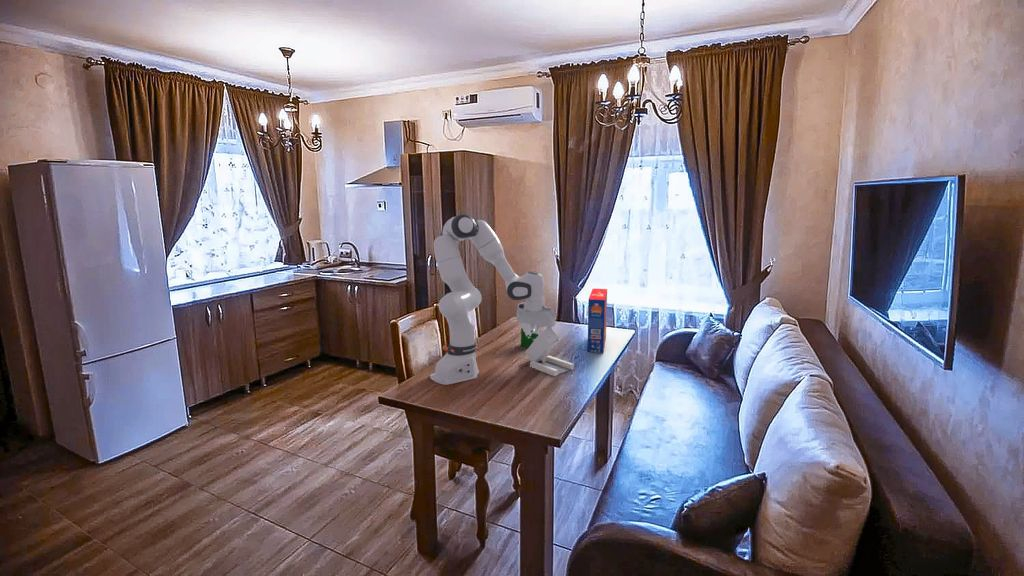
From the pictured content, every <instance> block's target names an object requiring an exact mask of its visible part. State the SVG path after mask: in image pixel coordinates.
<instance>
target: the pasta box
mask: <svg viewBox="0 0 1024 576" xmlns="http://www.w3.org/2000/svg"><path fill="white" fill-rule="evenodd" d="M589 294H590V295H589V296H588V304H587V305H588V307H587V308H588V309H587V311H588V312H587V313H588V316H587V318H588V320H587V354H589V353H592V354H604V352H605V346H606V340H607V313H608V312H607V310H608V308H607V307H608V289H607V288H592V290H591V291H590V293H589Z"/></svg>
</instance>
